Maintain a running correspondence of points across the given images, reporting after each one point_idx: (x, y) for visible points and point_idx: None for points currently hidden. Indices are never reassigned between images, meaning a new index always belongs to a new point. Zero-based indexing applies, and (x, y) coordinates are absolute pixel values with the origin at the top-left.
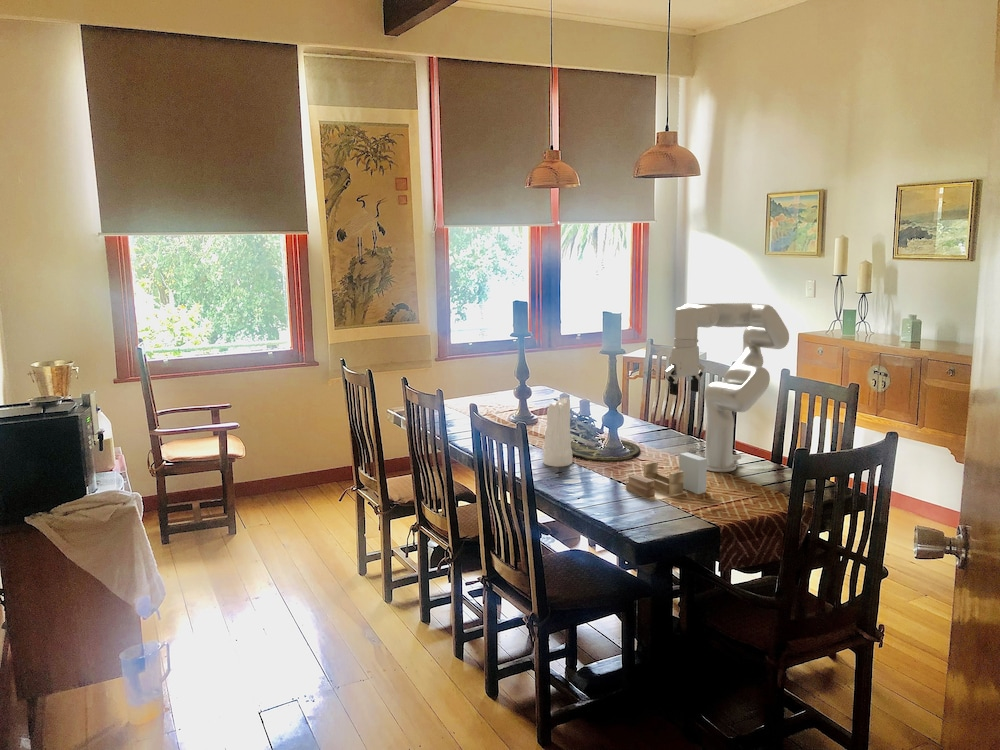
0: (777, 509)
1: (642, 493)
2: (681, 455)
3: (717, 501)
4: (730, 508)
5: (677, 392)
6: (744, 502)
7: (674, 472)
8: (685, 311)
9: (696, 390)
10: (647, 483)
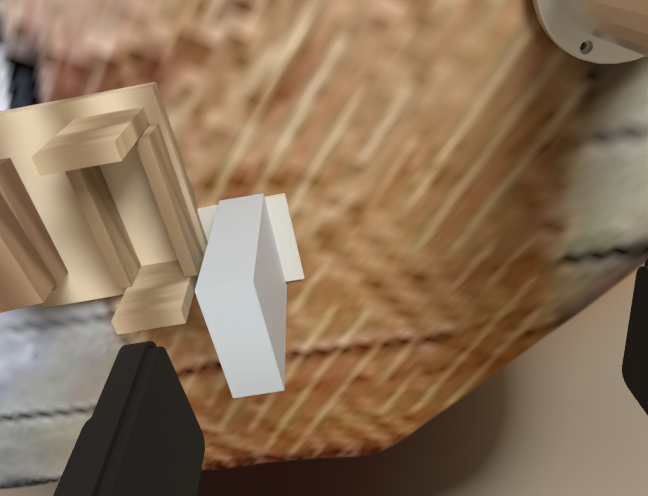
0: (414, 427)
1: None
2: (199, 300)
3: (291, 337)
4: (291, 390)
5: (200, 472)
6: (368, 366)
7: (137, 321)
8: None
9: (633, 389)
10: (6, 309)
